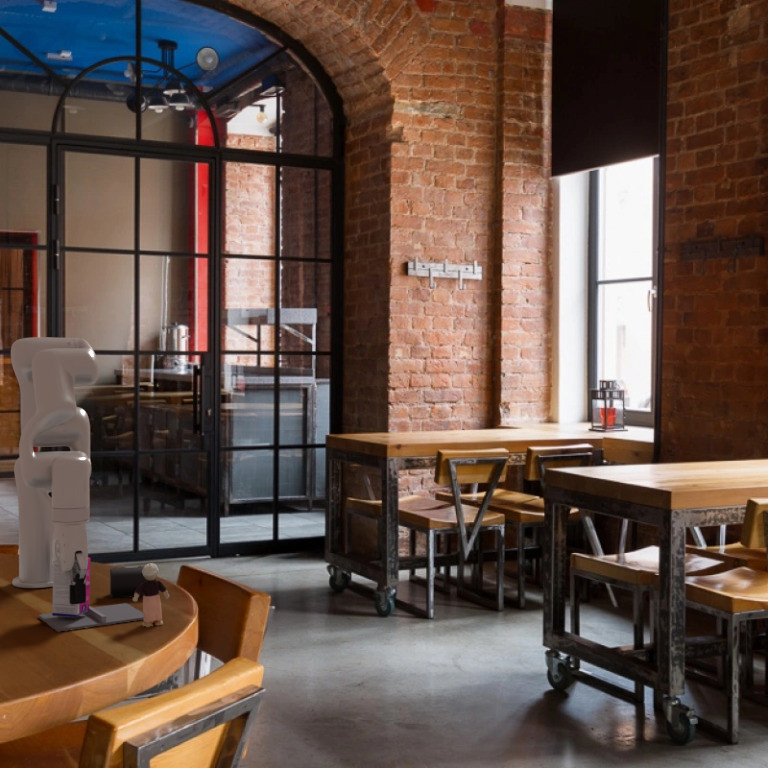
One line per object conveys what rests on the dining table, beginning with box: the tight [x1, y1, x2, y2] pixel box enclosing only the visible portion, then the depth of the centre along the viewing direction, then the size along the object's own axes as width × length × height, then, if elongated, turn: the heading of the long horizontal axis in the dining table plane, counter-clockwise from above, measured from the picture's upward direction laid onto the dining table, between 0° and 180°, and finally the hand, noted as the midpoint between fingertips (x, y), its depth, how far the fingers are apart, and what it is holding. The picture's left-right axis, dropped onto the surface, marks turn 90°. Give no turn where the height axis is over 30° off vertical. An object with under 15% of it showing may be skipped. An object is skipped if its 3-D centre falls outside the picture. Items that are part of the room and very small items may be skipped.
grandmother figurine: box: [131, 563, 170, 628], centre depth 217 cm, size 8×4×13 cm, turn 135°
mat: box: [38, 602, 144, 633], centre depth 222 cm, size 14×19×2 cm
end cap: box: [109, 565, 157, 598], centre depth 243 cm, size 10×7×7 cm
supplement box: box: [51, 557, 91, 617], centre depth 220 cm, size 6×6×12 cm
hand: (71, 598), depth 220 cm, fingers closed on supplement box, 7 cm apart
